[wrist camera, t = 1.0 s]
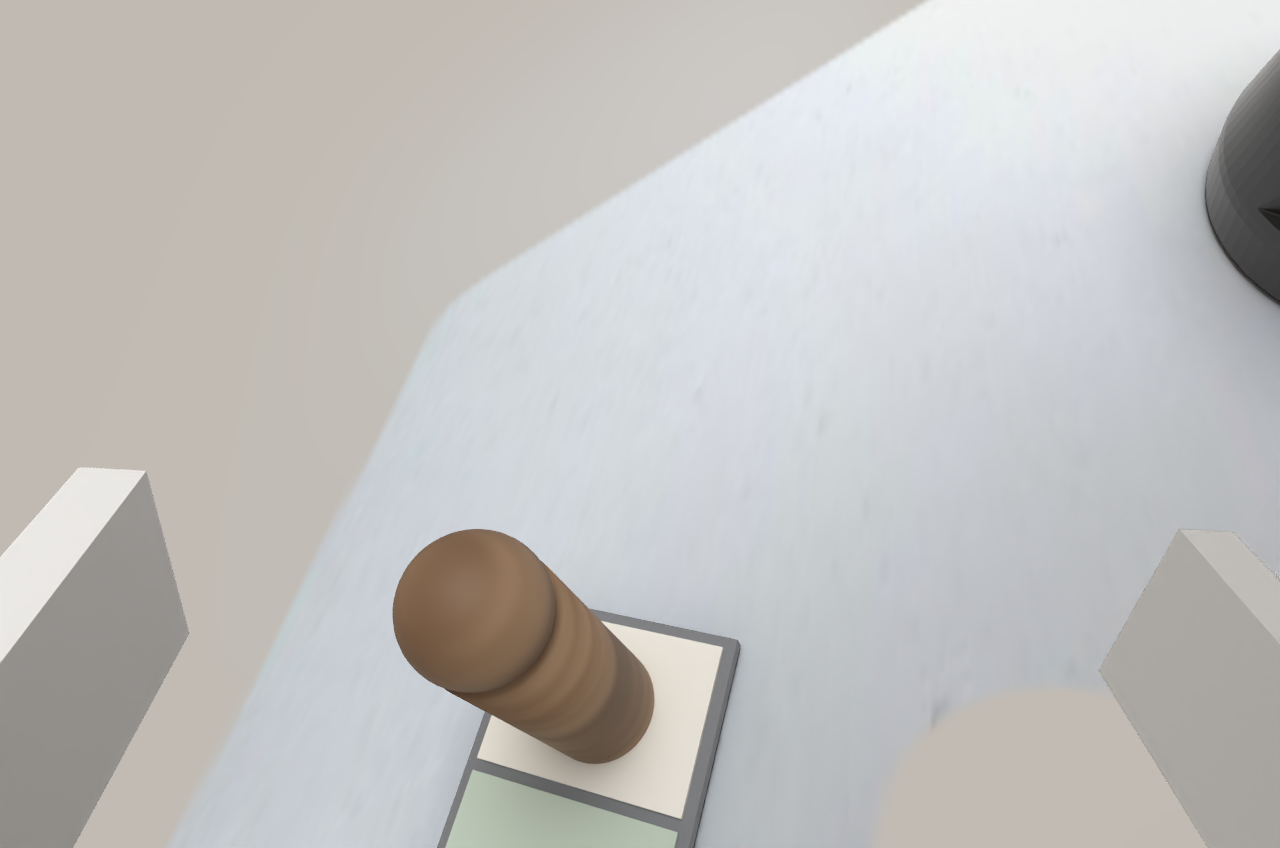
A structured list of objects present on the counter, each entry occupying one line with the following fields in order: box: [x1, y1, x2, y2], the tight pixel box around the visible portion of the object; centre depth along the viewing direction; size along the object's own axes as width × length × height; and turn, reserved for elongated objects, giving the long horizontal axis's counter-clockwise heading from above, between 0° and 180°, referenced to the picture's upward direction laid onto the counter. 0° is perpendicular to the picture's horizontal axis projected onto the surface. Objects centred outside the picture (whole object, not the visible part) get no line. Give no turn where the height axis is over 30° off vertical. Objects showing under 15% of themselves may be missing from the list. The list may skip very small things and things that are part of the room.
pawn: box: [393, 529, 655, 764], centre depth 25 cm, size 4×4×12 cm
